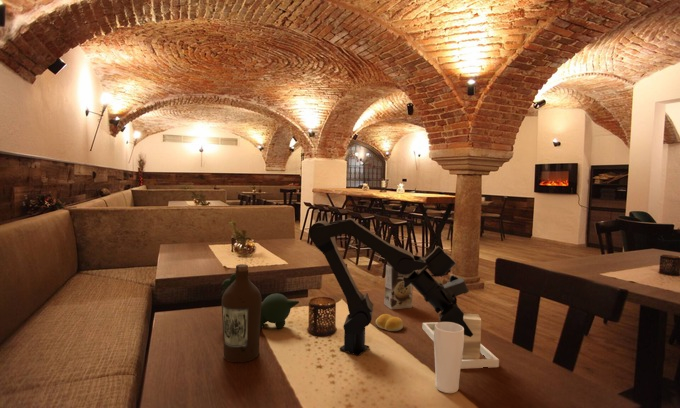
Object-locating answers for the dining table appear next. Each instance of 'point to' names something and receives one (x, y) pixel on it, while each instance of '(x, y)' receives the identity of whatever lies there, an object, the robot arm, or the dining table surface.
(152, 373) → the dining table surface
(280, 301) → the toy figurine
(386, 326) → the bread roll
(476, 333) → the maple block
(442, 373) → the drinking glass
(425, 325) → the box
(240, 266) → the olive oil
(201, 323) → the dining table surface
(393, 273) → the white cardboard box
